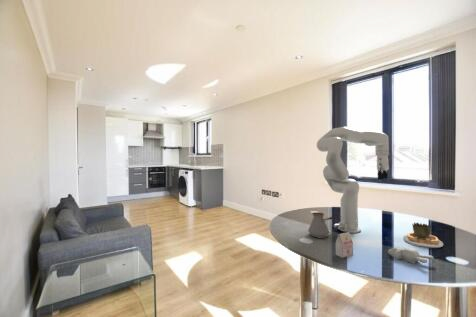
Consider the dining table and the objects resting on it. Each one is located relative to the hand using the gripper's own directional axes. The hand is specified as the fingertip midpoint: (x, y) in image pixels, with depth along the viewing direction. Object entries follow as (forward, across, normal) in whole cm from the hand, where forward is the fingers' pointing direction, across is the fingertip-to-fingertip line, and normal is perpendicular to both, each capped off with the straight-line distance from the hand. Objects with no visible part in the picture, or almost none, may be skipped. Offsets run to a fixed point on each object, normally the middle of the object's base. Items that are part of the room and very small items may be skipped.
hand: (382, 178), depth 149 cm
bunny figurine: (+31, -54, -22) cm, 66 cm away
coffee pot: (+31, -53, +15) cm, 63 cm away
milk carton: (+31, -67, 0) cm, 74 cm away
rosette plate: (+30, -24, -23) cm, 45 cm away
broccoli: (+29, -24, -23) cm, 44 cm away
